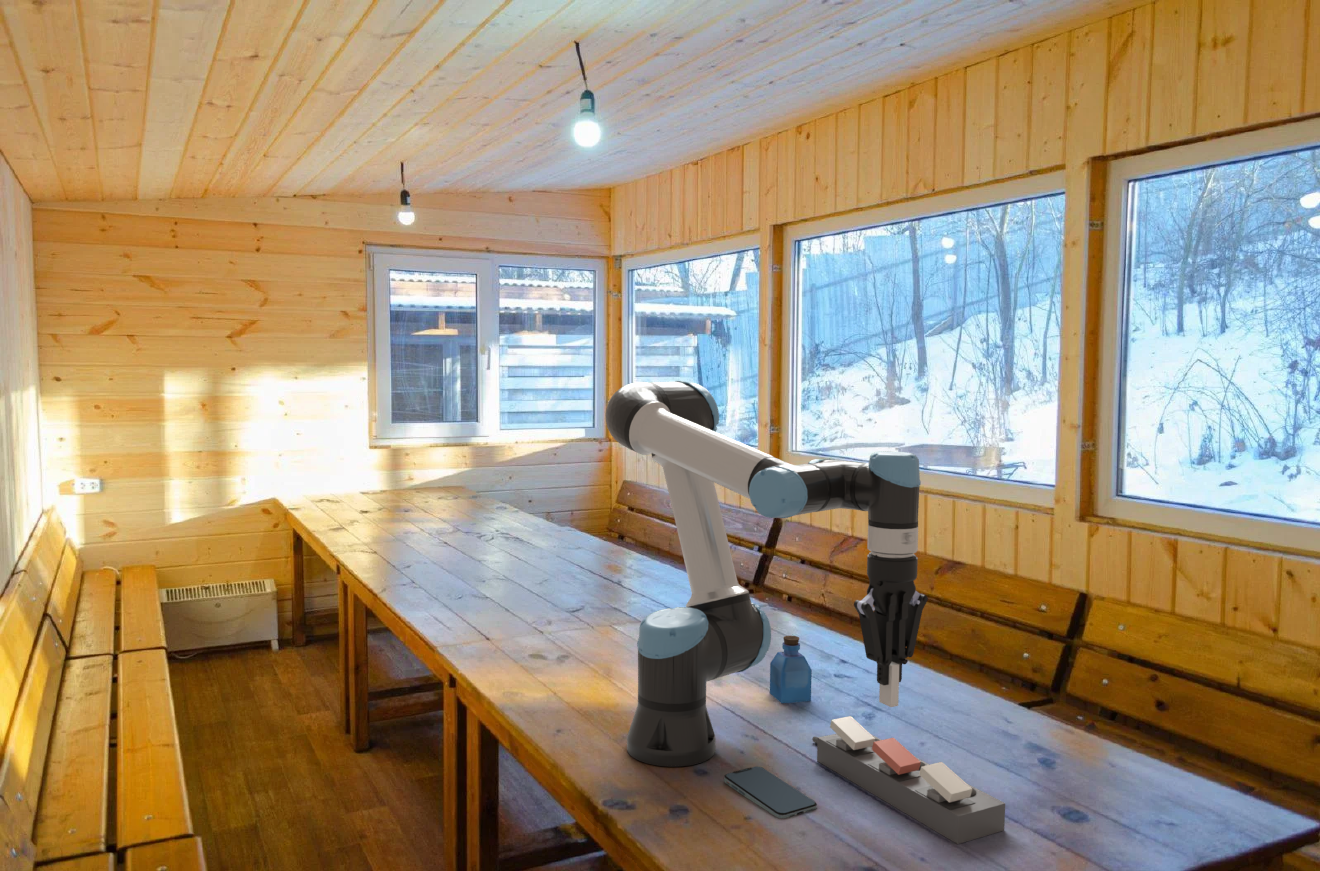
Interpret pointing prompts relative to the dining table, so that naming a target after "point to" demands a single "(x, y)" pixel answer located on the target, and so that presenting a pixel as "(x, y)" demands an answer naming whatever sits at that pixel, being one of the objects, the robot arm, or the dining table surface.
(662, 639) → the robot arm
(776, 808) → the smartphone
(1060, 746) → the dining table surface
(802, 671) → the perfume bottle
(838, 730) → the rocker far
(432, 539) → the dining table surface
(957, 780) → the rocker near
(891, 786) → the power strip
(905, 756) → the rocker mid
